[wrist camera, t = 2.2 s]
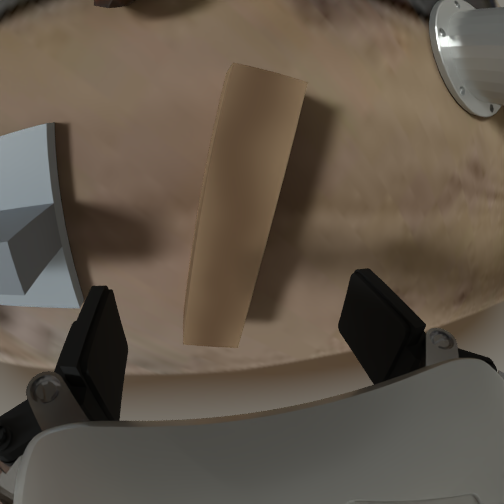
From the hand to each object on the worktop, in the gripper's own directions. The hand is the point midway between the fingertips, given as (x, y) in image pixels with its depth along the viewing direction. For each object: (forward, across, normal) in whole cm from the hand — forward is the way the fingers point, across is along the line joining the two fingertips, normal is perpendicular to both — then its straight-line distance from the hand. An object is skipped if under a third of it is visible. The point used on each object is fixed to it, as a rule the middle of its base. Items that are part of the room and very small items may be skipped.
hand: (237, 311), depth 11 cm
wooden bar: (+10, -1, -1) cm, 10 cm away
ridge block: (+10, +17, -1) cm, 20 cm away
